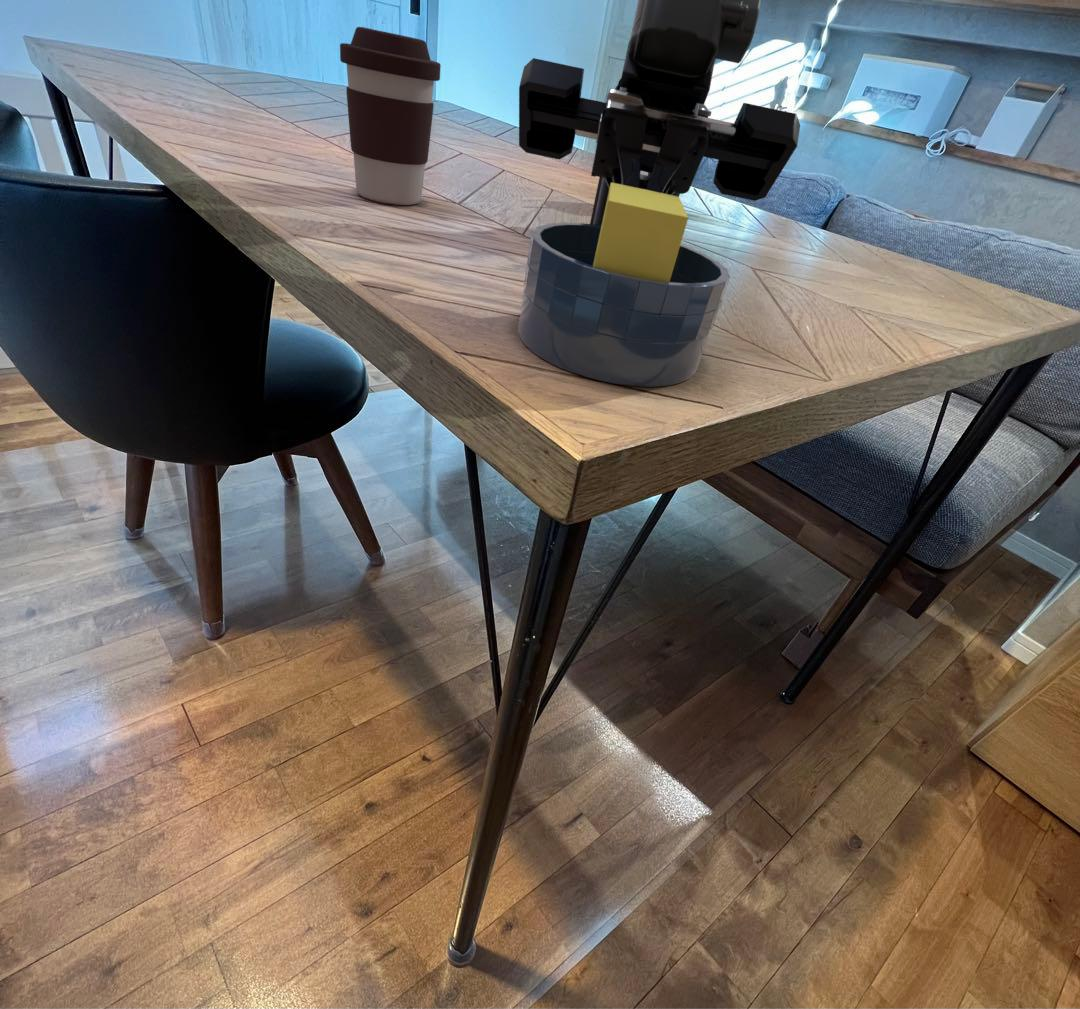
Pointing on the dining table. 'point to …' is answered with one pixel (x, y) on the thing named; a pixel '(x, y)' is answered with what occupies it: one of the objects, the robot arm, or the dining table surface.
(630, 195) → the sponge
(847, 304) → the dining table surface
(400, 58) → the coffee cup
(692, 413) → the dining table surface
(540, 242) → the bowl
